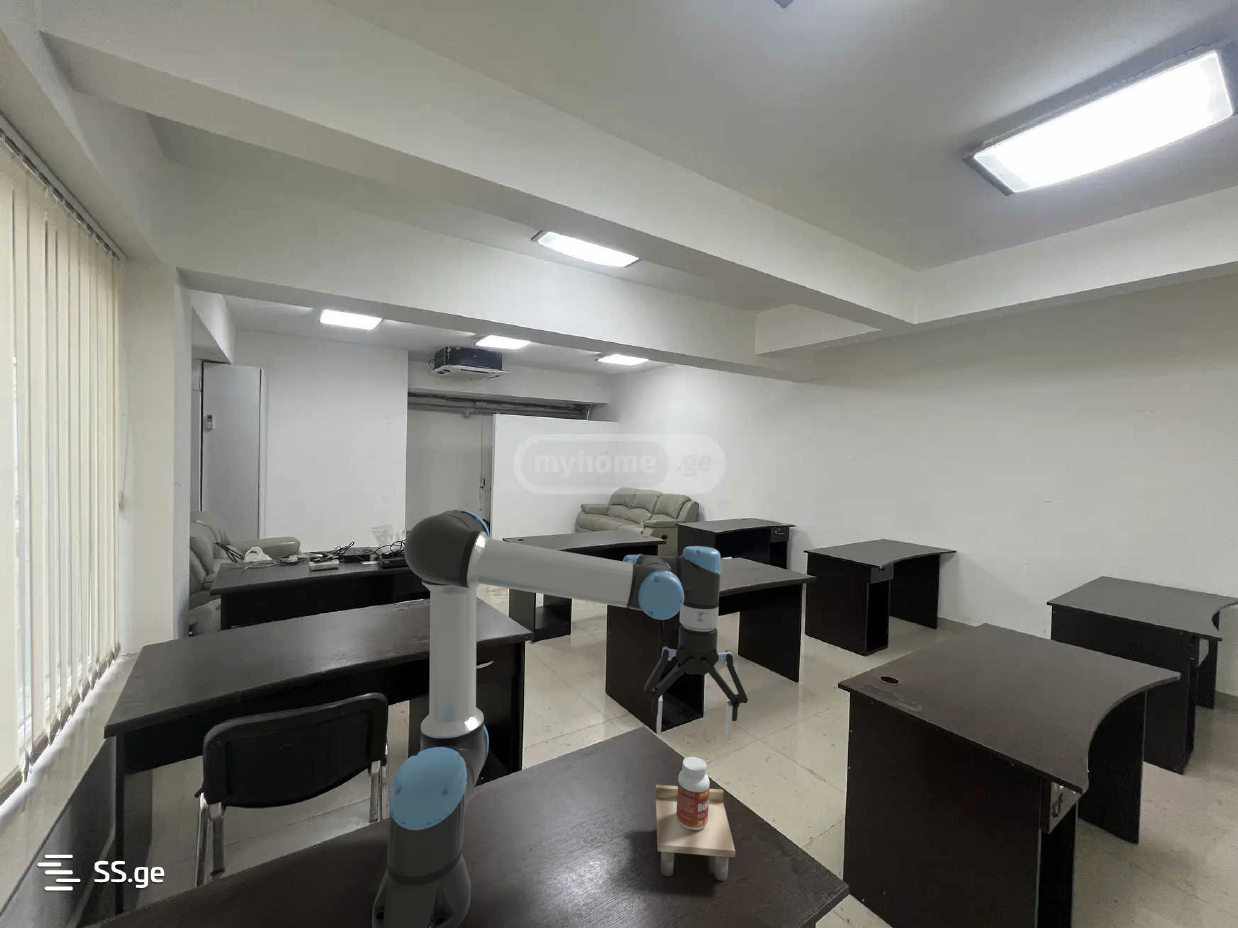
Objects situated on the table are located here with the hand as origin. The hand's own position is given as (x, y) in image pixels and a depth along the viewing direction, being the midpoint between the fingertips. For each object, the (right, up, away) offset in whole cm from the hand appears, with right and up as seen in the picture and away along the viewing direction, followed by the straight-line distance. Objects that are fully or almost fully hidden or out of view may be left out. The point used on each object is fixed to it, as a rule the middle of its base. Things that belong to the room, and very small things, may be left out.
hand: (693, 733), depth 97 cm
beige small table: (-1, -23, -1) cm, 23 cm away
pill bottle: (0, -17, -1) cm, 17 cm away
